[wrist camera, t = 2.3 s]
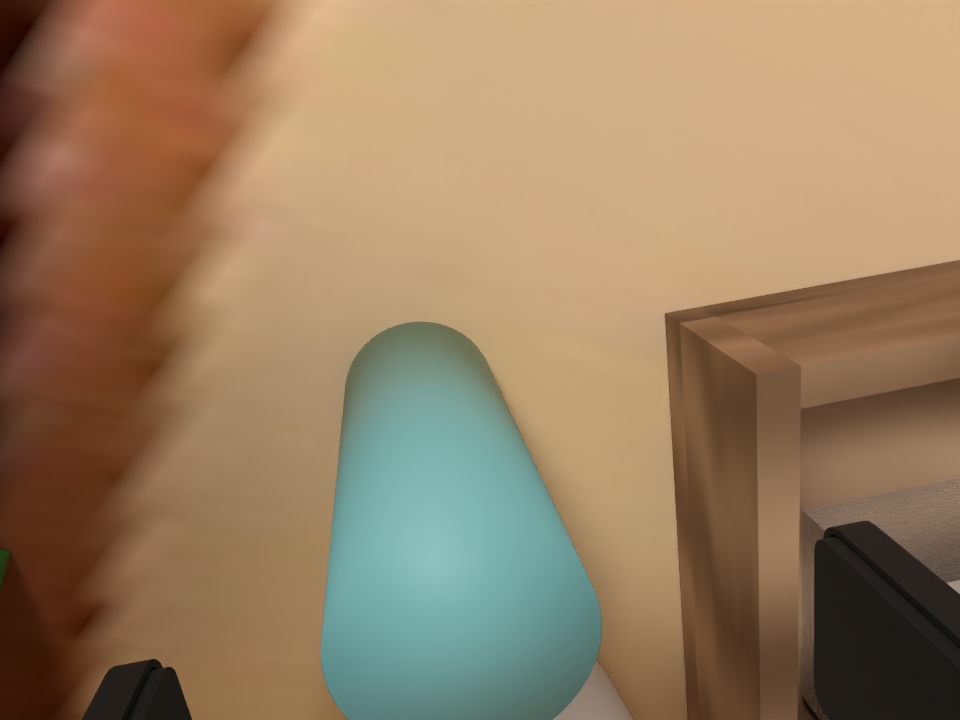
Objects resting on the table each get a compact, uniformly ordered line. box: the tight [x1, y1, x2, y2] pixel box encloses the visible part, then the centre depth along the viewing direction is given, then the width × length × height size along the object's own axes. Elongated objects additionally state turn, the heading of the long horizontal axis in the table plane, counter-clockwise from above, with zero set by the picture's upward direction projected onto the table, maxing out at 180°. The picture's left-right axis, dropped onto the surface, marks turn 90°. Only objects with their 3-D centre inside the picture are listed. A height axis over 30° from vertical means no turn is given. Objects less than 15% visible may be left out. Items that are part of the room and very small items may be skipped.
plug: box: [321, 322, 602, 720], centre depth 15 cm, size 4×4×10 cm
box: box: [665, 260, 960, 720], centre depth 21 cm, size 15×14×5 cm
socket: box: [801, 478, 960, 720], centre depth 21 cm, size 7×7×4 cm
